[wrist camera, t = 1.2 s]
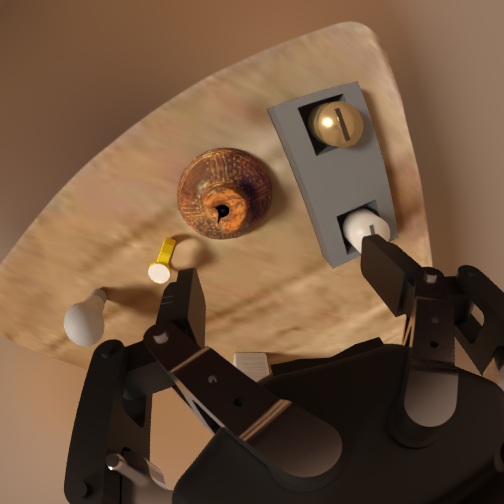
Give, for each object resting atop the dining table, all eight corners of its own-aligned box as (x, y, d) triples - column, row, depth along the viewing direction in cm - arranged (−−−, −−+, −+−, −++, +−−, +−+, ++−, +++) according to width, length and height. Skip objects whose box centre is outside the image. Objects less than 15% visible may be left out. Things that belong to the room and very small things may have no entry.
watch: (171, 270, 38) (163, 296, 33) (153, 264, 37) (143, 289, 32) (183, 235, 36) (176, 259, 31) (164, 228, 35) (153, 251, 30)
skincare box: (259, 378, 51) (271, 441, 37) (229, 378, 50) (235, 443, 36) (266, 350, 47) (281, 419, 34) (232, 350, 46) (239, 421, 33)
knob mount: (384, 226, 39) (398, 237, 35) (322, 255, 39) (332, 268, 36) (343, 84, 29) (357, 81, 25) (266, 109, 30) (272, 106, 26)
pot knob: (377, 234, 35) (393, 247, 32) (347, 248, 36) (360, 263, 32) (370, 202, 33) (387, 212, 29) (338, 216, 33) (352, 228, 30)
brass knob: (352, 137, 29) (369, 139, 25) (316, 150, 29) (330, 154, 26) (338, 98, 27) (354, 96, 23) (301, 110, 27) (313, 108, 23)
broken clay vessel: (277, 223, 37) (290, 246, 30) (191, 244, 37) (186, 271, 30) (260, 138, 32) (271, 141, 25) (166, 162, 31) (152, 171, 25)
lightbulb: (122, 286, 38) (100, 335, 28) (113, 313, 40) (93, 361, 30) (88, 269, 36) (58, 313, 26) (82, 297, 38) (56, 342, 28)
